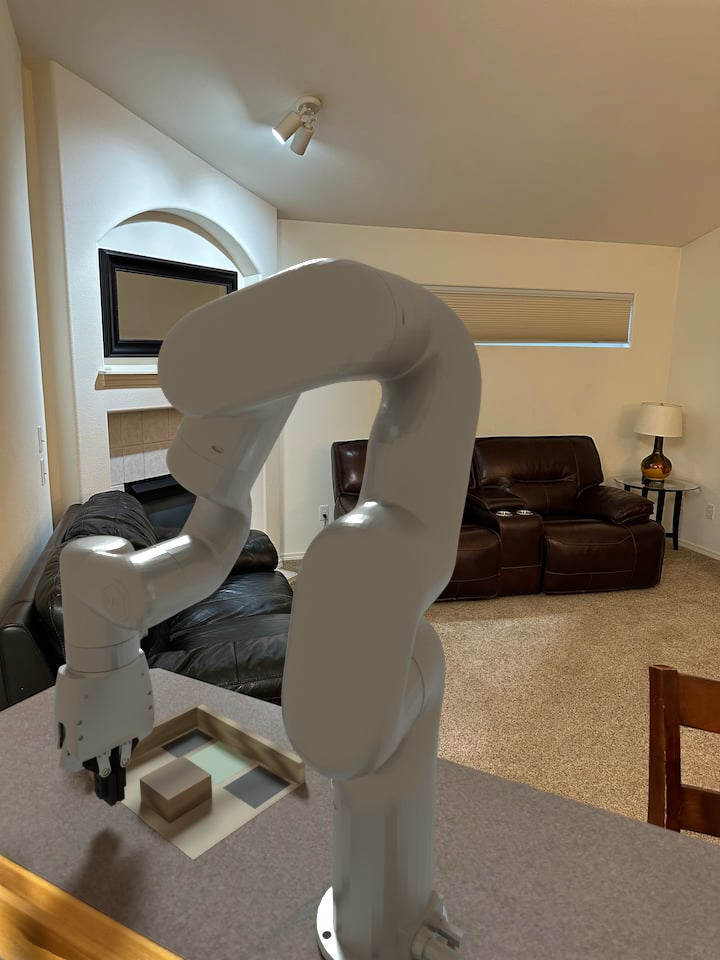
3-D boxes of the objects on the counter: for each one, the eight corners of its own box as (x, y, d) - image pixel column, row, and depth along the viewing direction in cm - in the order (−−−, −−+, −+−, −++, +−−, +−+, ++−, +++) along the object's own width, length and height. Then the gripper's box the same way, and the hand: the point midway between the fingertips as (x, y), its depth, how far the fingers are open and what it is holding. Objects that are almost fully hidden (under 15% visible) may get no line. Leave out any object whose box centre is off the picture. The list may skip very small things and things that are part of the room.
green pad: (254, 764, 85) (254, 762, 85) (217, 786, 80) (217, 784, 80) (218, 743, 90) (218, 741, 89) (182, 763, 85) (182, 761, 85)
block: (212, 797, 78) (211, 774, 77) (169, 823, 73) (168, 800, 73) (183, 776, 82) (182, 755, 81) (140, 800, 77) (139, 778, 77)
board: (305, 788, 81) (305, 759, 80) (193, 868, 68) (191, 834, 67) (199, 726, 95) (198, 701, 94) (89, 783, 82) (87, 754, 81)
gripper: (144, 619, 78) (150, 755, 82) (17, 661, 67) (29, 817, 70) (181, 637, 74) (185, 780, 77) (50, 686, 62) (62, 851, 66)
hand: (111, 797), depth 74 cm, fingers closed
